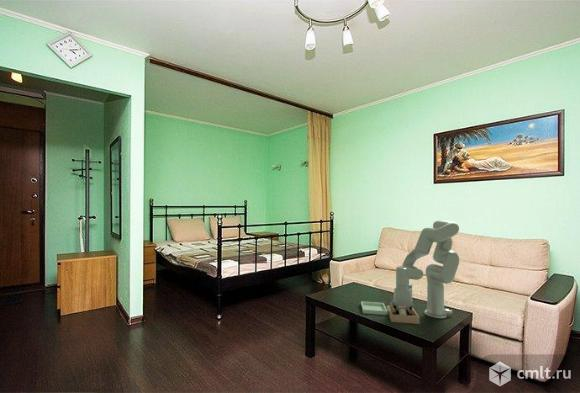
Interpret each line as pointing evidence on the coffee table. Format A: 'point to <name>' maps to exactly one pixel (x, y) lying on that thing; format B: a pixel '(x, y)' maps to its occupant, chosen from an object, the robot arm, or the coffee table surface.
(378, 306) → the tray
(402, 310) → the ball
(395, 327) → the coffee table surface
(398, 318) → the tan square frame
